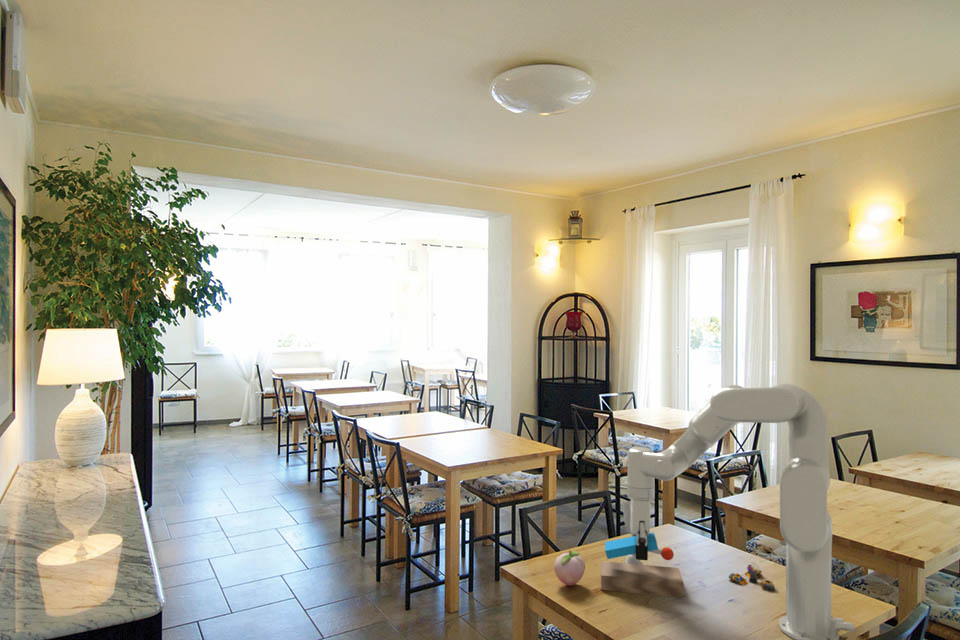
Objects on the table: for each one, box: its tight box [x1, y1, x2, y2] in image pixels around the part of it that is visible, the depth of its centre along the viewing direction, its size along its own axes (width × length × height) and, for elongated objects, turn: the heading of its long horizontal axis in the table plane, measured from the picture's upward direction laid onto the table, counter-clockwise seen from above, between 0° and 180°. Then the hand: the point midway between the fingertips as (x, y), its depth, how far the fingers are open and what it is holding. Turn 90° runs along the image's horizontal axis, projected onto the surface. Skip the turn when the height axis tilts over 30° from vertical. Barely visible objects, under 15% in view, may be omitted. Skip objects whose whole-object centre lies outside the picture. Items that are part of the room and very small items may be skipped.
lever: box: [604, 532, 674, 561], centre depth 164 cm, size 7×7×18 cm
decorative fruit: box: [553, 550, 586, 587], centre depth 164 cm, size 9×8×10 cm
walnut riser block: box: [600, 560, 685, 598], centre depth 164 cm, size 22×10×4 cm, turn 78°
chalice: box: [621, 500, 643, 565], centre depth 180 cm, size 7×7×18 cm
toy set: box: [728, 564, 776, 592], centre depth 166 cm, size 12×11×5 cm
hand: (640, 553), depth 164 cm, fingers closed on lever, 7 cm apart
